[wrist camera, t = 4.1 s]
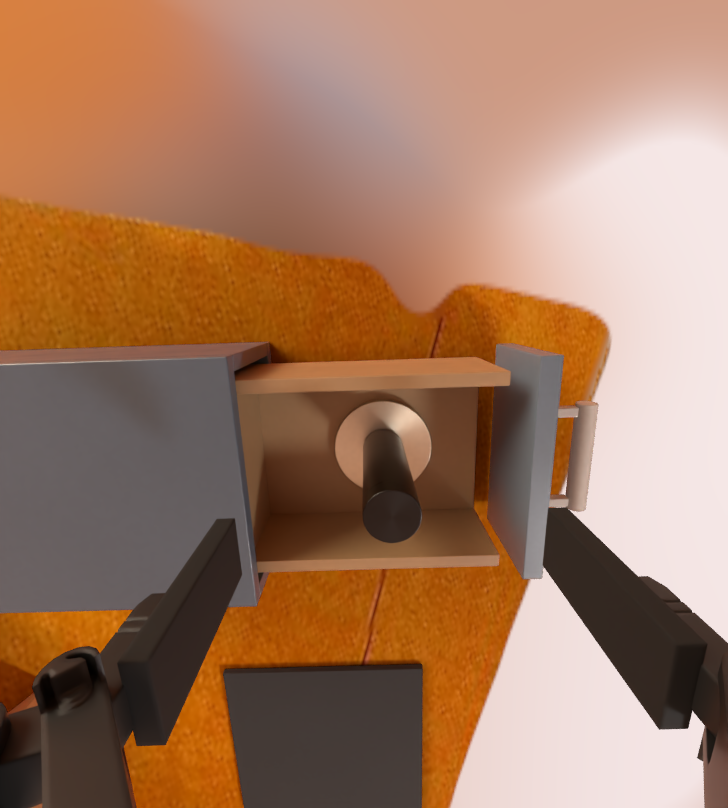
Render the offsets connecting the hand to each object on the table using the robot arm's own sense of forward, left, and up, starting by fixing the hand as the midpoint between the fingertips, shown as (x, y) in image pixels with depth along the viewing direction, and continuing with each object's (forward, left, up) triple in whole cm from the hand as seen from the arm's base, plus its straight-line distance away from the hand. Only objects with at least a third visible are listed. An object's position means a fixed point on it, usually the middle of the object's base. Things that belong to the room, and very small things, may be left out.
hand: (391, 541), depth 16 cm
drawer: (-2, 0, -13) cm, 13 cm away
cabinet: (+18, 0, -14) cm, 22 cm away
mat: (+6, +31, -14) cm, 34 cm away
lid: (0, 0, -11) cm, 11 cm away
